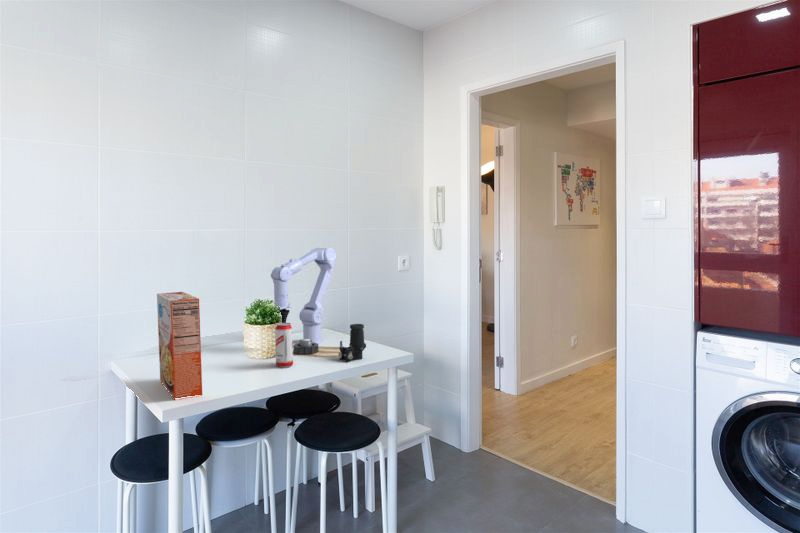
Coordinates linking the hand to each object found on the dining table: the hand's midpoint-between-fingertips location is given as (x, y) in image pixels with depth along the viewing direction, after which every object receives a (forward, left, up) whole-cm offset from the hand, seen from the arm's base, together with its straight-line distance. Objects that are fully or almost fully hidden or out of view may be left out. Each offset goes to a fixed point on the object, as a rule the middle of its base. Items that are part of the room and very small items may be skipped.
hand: (281, 327), depth 213 cm
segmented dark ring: (+4, +12, -9) cm, 16 cm away
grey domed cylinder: (+4, +12, -9) cm, 16 cm away
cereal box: (+55, -12, -10) cm, 57 cm away
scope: (+12, +35, -10) cm, 38 cm away
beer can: (+24, +11, -10) cm, 28 cm away
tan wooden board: (+2, +18, -10) cm, 21 cm away
